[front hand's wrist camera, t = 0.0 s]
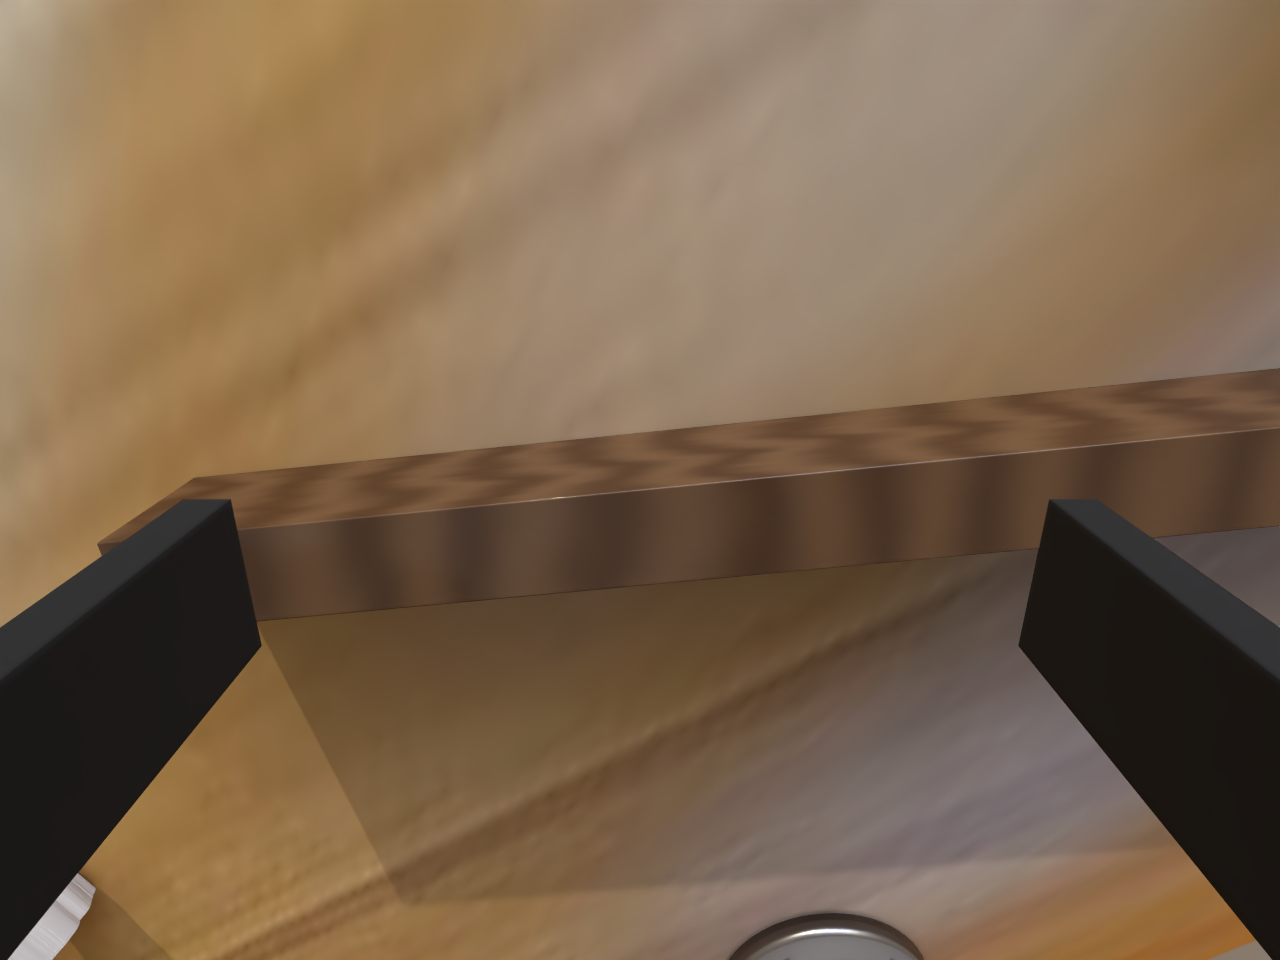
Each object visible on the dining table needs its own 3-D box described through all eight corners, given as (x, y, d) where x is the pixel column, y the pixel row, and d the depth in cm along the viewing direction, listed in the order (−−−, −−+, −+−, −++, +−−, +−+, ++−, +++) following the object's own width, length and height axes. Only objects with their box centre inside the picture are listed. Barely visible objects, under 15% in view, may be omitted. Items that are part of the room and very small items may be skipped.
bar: (219, 555, 44) (132, 633, 36) (193, 477, 42) (95, 543, 35) (1450, 435, 41) (1631, 493, 34) (1475, 348, 39) (1672, 388, 32)
